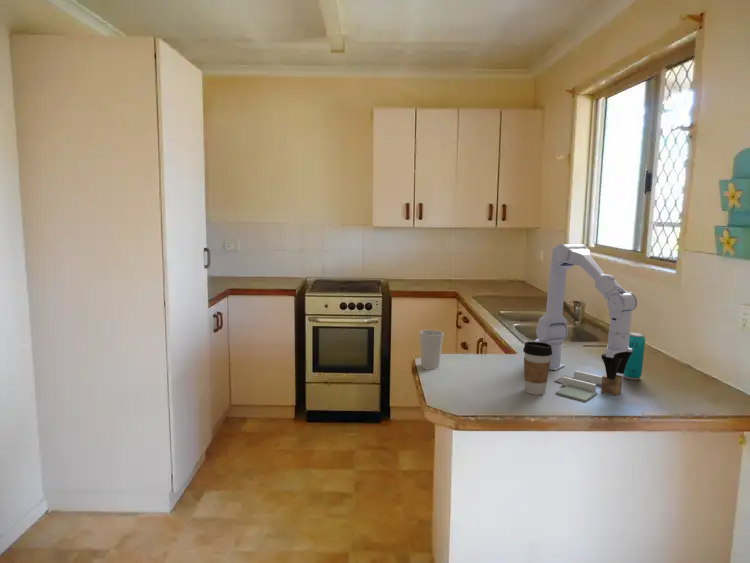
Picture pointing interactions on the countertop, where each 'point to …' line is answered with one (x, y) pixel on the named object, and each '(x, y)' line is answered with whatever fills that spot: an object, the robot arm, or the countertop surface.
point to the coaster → (576, 393)
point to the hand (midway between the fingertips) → (615, 375)
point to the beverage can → (635, 356)
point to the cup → (431, 348)
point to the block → (611, 385)
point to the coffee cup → (536, 366)
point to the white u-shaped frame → (581, 384)
